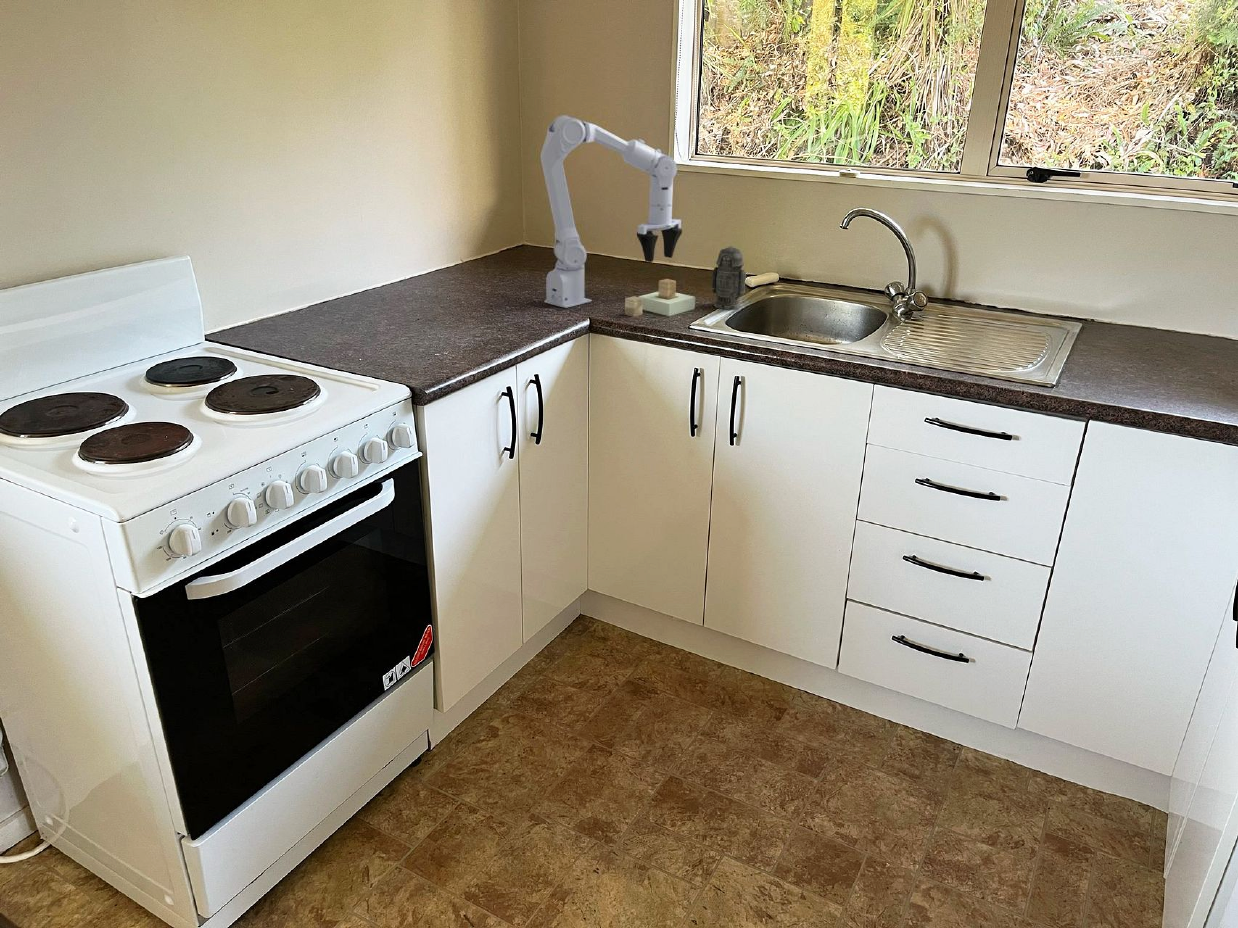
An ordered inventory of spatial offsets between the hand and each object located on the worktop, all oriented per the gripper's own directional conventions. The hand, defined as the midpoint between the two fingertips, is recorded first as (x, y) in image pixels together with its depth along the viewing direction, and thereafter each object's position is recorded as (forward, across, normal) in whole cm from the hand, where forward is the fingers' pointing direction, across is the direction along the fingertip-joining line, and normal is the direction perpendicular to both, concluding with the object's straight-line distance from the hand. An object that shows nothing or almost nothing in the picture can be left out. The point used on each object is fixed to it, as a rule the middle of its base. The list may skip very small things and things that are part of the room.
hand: (658, 259), depth 236 cm
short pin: (+10, -17, -7) cm, 21 cm away
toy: (+10, +6, -18) cm, 21 cm away
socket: (+10, -7, -9) cm, 15 cm away
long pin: (+10, -7, -9) cm, 15 cm away
